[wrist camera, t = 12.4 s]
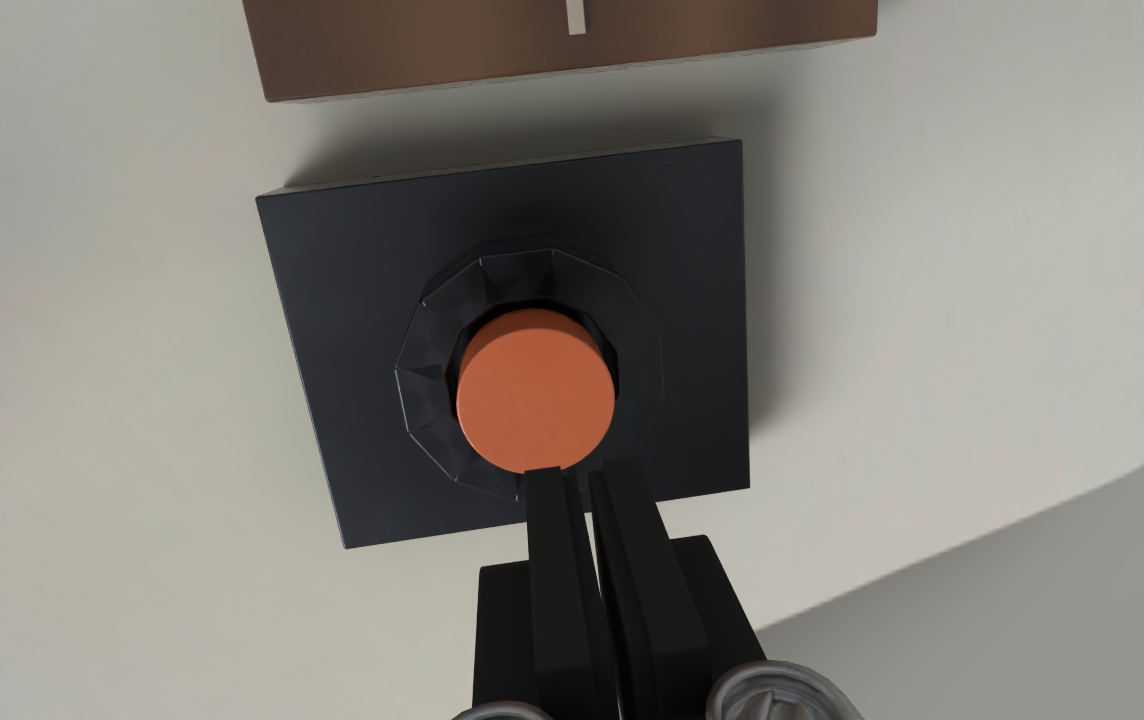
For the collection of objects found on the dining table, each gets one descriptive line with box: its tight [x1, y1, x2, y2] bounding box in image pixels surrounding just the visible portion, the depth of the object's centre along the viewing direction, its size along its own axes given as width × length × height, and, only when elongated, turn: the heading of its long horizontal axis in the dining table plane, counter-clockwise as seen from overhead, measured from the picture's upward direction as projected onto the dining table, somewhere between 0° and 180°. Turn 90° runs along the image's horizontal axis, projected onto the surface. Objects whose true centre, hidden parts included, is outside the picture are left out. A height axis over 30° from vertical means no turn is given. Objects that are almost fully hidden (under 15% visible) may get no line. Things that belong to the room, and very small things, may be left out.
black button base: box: [255, 137, 750, 549], centre depth 19 cm, size 12×10×4 cm
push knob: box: [456, 308, 615, 474], centre depth 17 cm, size 4×4×2 cm
